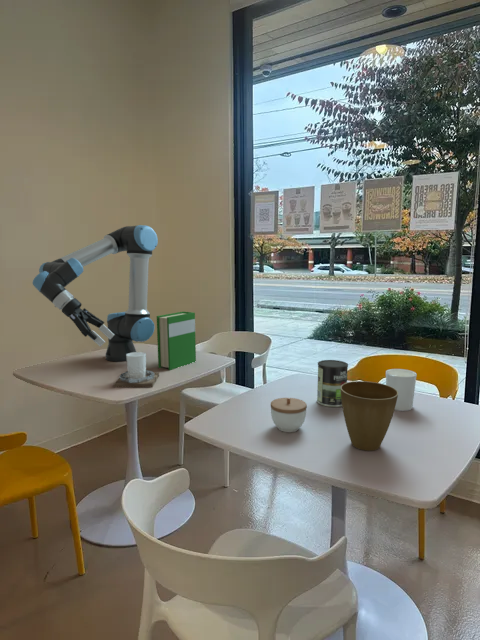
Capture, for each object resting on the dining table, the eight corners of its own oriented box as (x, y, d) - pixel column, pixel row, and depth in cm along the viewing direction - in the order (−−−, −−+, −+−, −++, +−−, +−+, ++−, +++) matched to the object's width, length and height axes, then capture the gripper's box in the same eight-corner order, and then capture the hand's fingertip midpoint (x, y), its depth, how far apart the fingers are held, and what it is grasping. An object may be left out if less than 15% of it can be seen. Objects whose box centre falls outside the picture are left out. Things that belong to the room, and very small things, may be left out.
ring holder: (123, 376, 184) (123, 369, 183) (159, 376, 184) (158, 369, 183) (114, 387, 169) (113, 380, 168) (152, 387, 169) (152, 379, 168)
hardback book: (170, 370, 193) (168, 317, 189) (158, 367, 197) (156, 316, 193) (195, 361, 207) (194, 312, 203) (184, 359, 211) (183, 311, 207)
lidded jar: (313, 428, 129) (314, 398, 128) (290, 439, 122) (291, 407, 120) (285, 418, 137) (286, 390, 135) (263, 428, 130) (263, 398, 128)
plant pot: (339, 455, 112) (341, 396, 109) (337, 432, 126) (339, 379, 124) (399, 460, 109) (403, 400, 107) (390, 435, 124) (393, 382, 121)
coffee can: (352, 403, 150) (354, 364, 148) (331, 409, 144) (332, 368, 142) (331, 395, 158) (332, 358, 156) (310, 400, 153) (311, 362, 151)
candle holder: (417, 405, 148) (419, 371, 146) (410, 414, 140) (412, 378, 138) (388, 399, 153) (390, 367, 151) (380, 408, 145) (382, 373, 143)
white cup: (149, 375, 180) (148, 352, 178) (143, 381, 172) (142, 356, 170) (131, 375, 180) (130, 351, 179) (124, 380, 173) (123, 356, 171)
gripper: (72, 306, 184) (110, 340, 186) (48, 315, 159) (91, 354, 162) (84, 294, 183) (121, 328, 186) (61, 301, 158) (105, 340, 161)
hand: (107, 340), depth 174 cm, fingers open, 13 cm apart
